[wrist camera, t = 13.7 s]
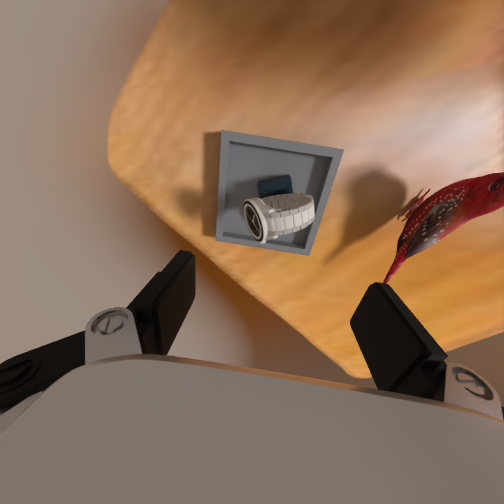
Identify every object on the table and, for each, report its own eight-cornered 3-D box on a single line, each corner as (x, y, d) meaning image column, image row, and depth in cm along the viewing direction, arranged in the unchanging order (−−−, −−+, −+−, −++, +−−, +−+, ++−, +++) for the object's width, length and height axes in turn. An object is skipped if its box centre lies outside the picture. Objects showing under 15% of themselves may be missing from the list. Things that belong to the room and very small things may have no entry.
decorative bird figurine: (462, 162, 26) (562, 171, 17) (371, 266, 34) (407, 309, 25) (444, 153, 25) (536, 157, 16) (357, 260, 34) (388, 301, 25)
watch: (244, 184, 28) (231, 205, 19) (301, 171, 27) (320, 186, 17) (253, 220, 31) (245, 255, 21) (305, 211, 29) (323, 243, 20)
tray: (225, 131, 26) (221, 130, 24) (337, 149, 26) (344, 149, 24) (218, 234, 33) (215, 240, 31) (306, 248, 33) (309, 255, 31)
